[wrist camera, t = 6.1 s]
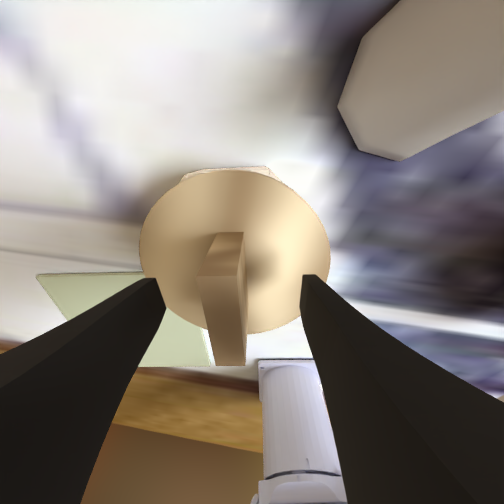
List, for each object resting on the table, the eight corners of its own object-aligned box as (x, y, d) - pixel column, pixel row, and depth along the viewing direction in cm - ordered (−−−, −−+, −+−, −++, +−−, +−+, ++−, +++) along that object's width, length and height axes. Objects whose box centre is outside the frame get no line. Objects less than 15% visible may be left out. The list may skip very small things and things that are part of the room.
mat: (210, 363, 23) (209, 366, 23) (103, 363, 24) (101, 366, 23) (187, 271, 16) (186, 273, 16) (40, 274, 17) (35, 277, 17)
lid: (340, 164, 9) (421, 174, 5) (313, 323, 14) (338, 398, 10) (120, 173, 9) (-1, 190, 5) (172, 324, 15) (136, 397, 10)
